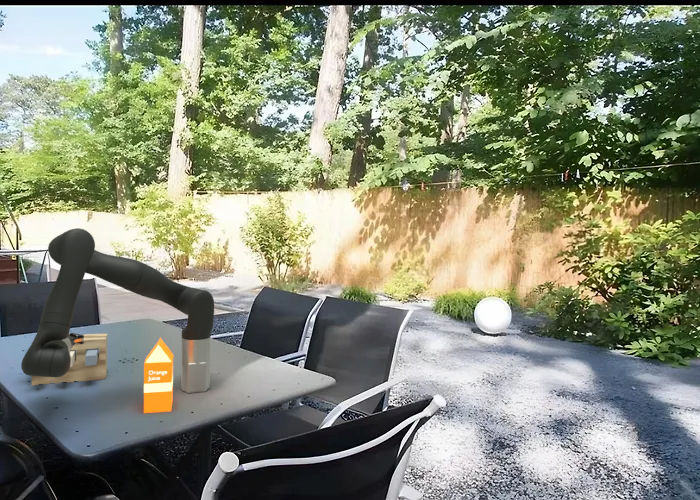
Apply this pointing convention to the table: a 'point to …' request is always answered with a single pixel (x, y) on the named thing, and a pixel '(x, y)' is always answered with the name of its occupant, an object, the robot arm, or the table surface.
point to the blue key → (91, 357)
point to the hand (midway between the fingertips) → (64, 334)
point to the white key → (72, 357)
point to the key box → (83, 362)
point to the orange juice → (158, 379)
